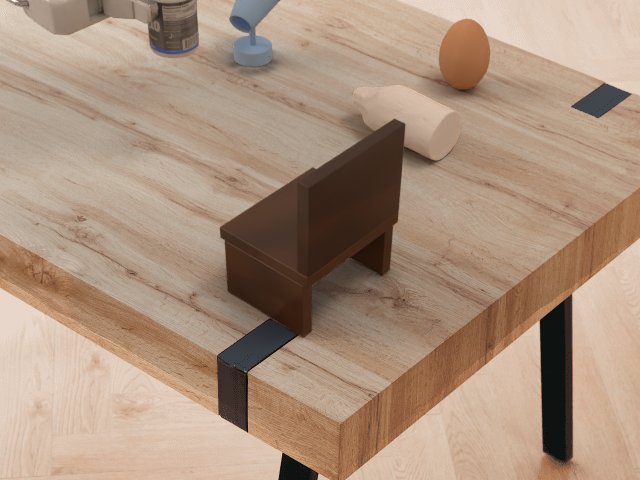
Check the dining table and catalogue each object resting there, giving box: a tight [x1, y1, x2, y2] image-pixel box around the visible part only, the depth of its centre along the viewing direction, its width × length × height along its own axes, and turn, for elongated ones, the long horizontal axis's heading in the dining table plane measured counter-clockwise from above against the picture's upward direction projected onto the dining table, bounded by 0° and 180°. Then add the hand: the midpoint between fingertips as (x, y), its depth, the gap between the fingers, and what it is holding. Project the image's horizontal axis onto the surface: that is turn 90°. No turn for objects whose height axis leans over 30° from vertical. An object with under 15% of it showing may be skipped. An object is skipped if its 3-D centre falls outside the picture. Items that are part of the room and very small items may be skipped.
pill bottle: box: [147, 0, 200, 59], centre depth 101 cm, size 5×5×8 cm
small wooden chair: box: [219, 119, 406, 338], centre depth 92 cm, size 10×12×16 cm
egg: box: [438, 18, 491, 90], centre depth 121 cm, size 6×6×8 cm
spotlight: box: [228, 0, 281, 68], centre depth 123 cm, size 5×10×7 cm
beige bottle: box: [352, 84, 463, 161], centre depth 113 cm, size 6×12×6 cm, turn 51°
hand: (177, 2), depth 100 cm, fingers closed on pill bottle, 5 cm apart
